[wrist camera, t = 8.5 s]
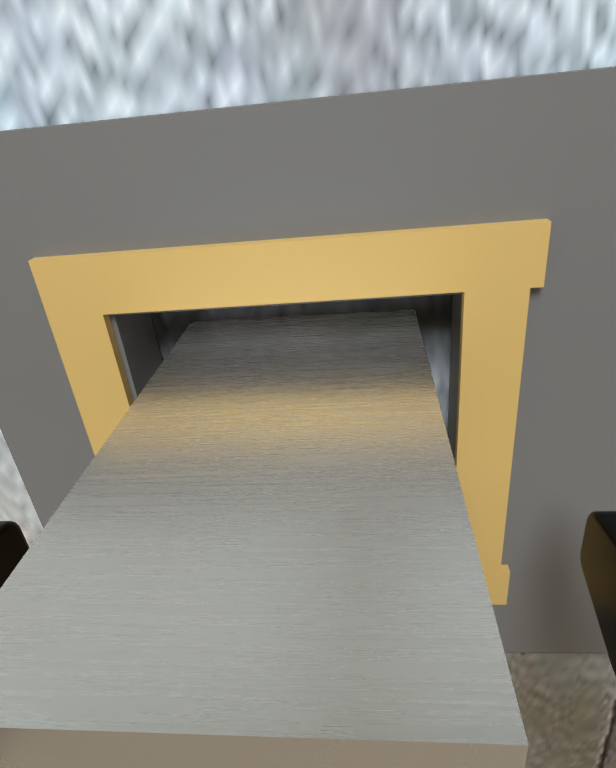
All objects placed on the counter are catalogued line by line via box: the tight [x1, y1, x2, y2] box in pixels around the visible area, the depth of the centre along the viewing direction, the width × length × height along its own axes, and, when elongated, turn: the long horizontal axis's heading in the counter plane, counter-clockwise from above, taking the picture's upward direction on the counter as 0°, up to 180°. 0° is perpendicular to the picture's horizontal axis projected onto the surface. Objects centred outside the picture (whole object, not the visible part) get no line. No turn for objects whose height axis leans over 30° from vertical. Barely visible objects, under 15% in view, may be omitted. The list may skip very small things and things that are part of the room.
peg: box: [0, 309, 529, 768], centre depth 8 cm, size 4×4×8 cm
